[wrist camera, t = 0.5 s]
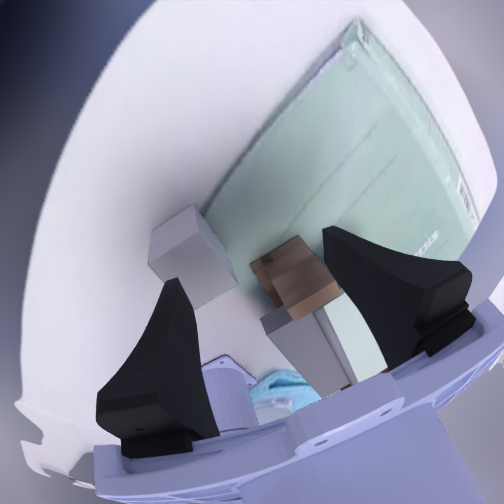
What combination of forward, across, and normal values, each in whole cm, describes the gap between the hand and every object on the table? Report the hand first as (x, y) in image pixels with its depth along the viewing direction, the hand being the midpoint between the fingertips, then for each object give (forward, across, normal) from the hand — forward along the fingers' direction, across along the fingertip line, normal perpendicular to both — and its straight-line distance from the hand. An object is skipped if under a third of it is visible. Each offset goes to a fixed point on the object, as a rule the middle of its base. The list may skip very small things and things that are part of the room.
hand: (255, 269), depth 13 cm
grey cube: (+10, +4, +3) cm, 11 cm away
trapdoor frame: (+9, -6, +17) cm, 20 cm away
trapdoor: (+5, -7, +16) cm, 19 cm away
